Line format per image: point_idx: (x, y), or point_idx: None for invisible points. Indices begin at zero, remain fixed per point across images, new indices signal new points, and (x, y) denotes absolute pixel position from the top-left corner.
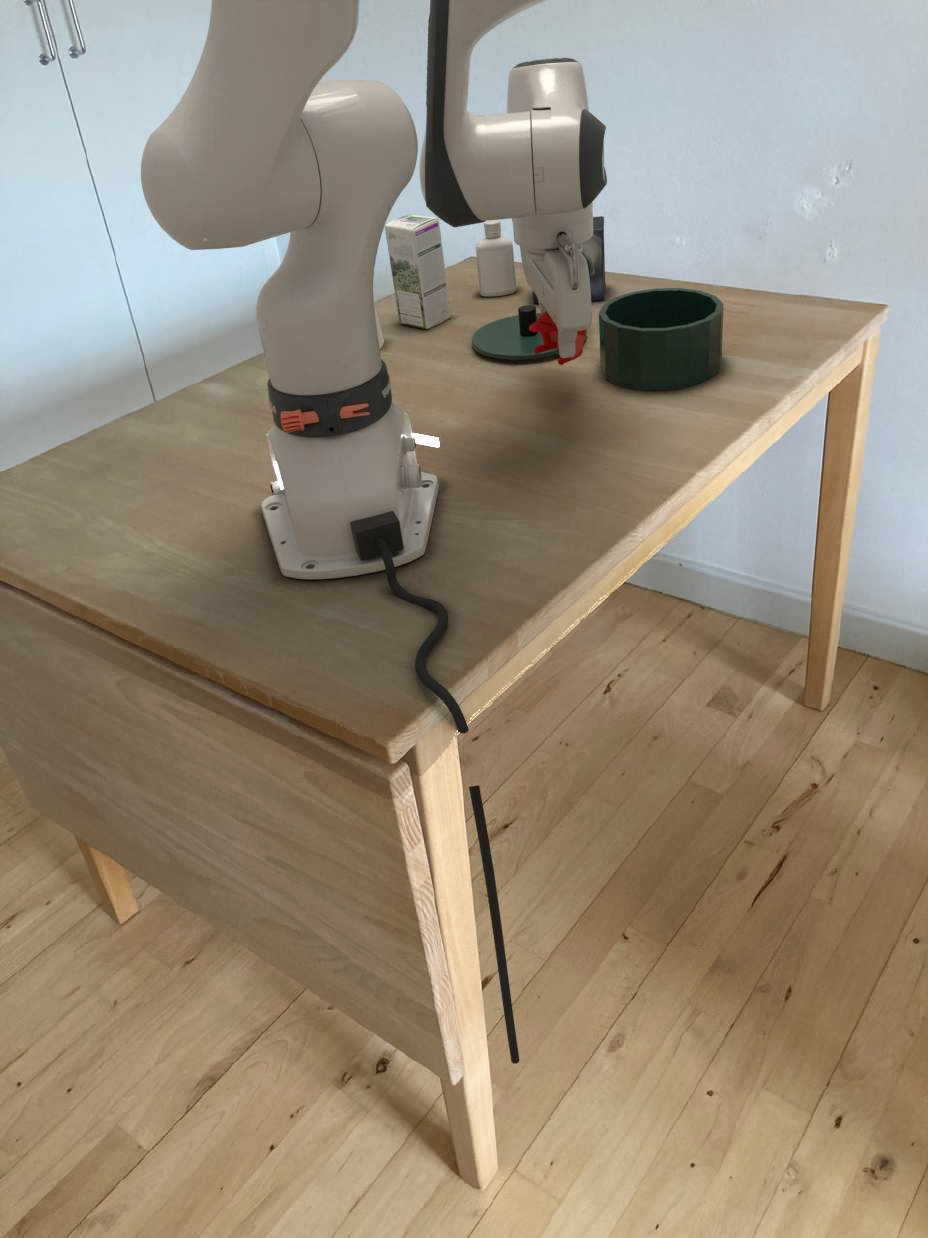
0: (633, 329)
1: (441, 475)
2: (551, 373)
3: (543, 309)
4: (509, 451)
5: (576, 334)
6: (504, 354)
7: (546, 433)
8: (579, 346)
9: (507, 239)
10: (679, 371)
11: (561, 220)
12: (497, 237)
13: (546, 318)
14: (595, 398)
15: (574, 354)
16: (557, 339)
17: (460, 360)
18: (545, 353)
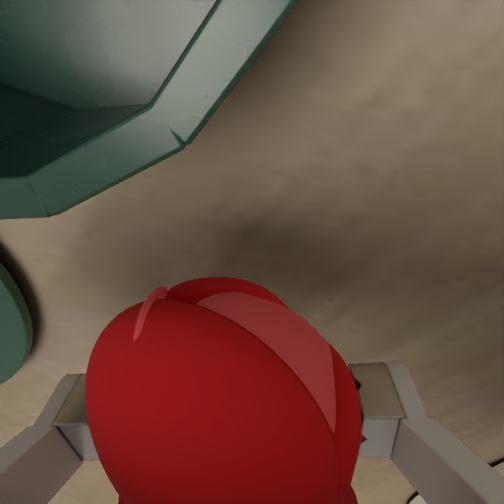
0: (275, 27)
1: (498, 443)
2: (99, 261)
3: (49, 493)
4: (484, 370)
5: (489, 466)
6: (22, 355)
7: (448, 310)
8: (288, 324)
9: None
10: None
11: None
12: None
13: None
14: (299, 179)
15: (403, 363)
16: (361, 456)
17: (24, 396)
18: (1, 277)
